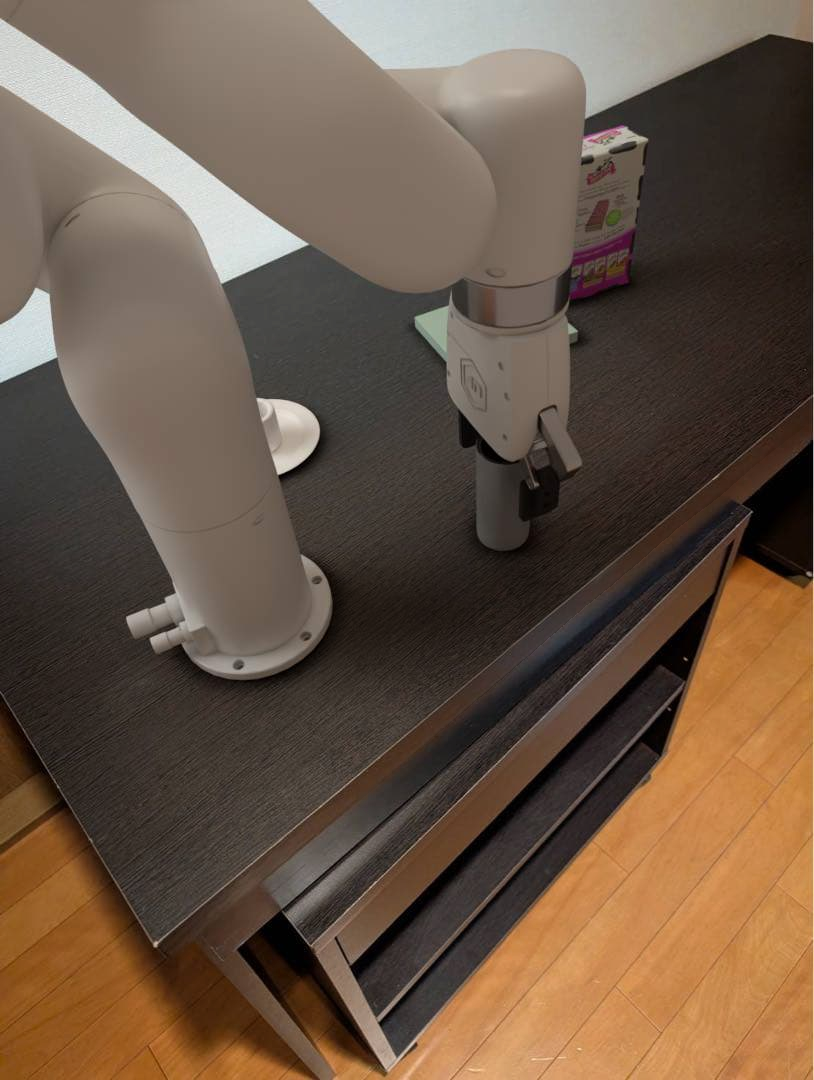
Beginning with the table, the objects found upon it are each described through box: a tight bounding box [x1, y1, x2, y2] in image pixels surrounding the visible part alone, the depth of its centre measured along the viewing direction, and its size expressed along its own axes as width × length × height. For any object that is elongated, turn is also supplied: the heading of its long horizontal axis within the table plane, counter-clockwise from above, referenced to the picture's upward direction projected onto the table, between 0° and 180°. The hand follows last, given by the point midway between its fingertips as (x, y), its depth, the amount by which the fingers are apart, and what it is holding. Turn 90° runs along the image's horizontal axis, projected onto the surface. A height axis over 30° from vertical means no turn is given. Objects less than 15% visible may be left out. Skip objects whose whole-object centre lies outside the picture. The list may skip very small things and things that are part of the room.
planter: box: [475, 435, 536, 552], centre depth 62 cm, size 4×4×10 cm
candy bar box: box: [569, 125, 649, 304], centre depth 84 cm, size 11×5×16 cm, turn 114°
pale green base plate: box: [414, 305, 579, 363], centre depth 84 cm, size 14×12×3 cm
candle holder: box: [256, 397, 321, 476], centre depth 75 cm, size 12×12×4 cm
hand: (506, 475), depth 61 cm, fingers open, 9 cm apart
